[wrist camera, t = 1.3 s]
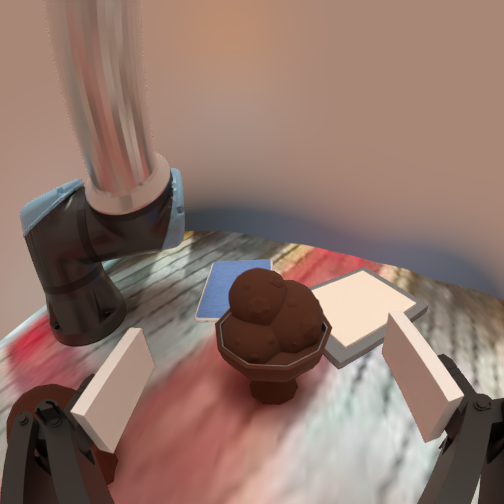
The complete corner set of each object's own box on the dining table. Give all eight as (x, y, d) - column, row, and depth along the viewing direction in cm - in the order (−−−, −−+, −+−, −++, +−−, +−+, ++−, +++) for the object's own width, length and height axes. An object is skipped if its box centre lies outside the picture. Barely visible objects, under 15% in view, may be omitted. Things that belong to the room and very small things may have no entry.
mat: (275, 305, 44) (275, 299, 43) (363, 272, 51) (364, 266, 50) (338, 369, 30) (340, 363, 30) (426, 311, 38) (428, 305, 37)
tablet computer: (275, 324, 40) (275, 317, 40) (193, 324, 41) (191, 318, 40) (272, 264, 58) (272, 258, 57) (213, 266, 58) (212, 260, 58)
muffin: (98, 524, 11) (30, 492, 7) (31, 468, 14) (-26, 419, 10) (146, 444, 22) (105, 390, 17) (77, 407, 24) (37, 351, 20)
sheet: (291, 300, 43) (291, 297, 42) (362, 272, 48) (362, 270, 48) (344, 349, 32) (345, 346, 32) (415, 305, 38) (416, 303, 37)
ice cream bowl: (234, 433, 23) (210, 328, 17) (223, 360, 33) (205, 255, 27) (333, 412, 25) (361, 301, 18) (303, 346, 35) (308, 242, 28)
